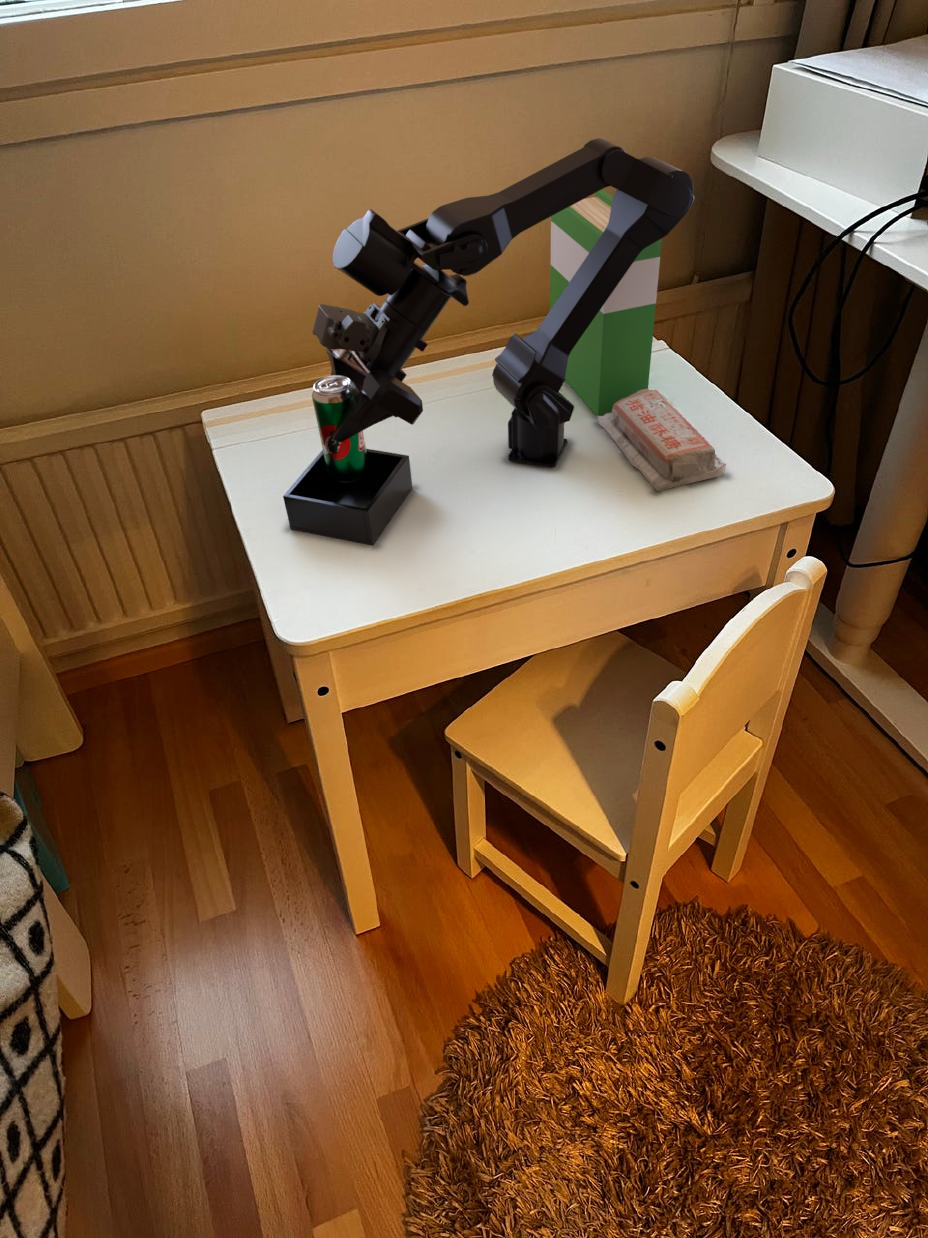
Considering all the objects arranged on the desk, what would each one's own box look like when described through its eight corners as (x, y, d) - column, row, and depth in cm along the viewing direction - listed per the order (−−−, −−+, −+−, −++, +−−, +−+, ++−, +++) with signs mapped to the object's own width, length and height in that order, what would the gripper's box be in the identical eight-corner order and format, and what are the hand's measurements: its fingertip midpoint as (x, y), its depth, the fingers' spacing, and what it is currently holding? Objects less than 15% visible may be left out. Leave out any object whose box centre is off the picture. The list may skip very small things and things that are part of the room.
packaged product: (733, 443, 112) (659, 461, 110) (727, 476, 115) (655, 494, 113) (665, 377, 124) (597, 391, 123) (661, 408, 128) (596, 423, 126)
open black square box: (412, 488, 117) (409, 455, 113) (373, 546, 109) (368, 512, 105) (334, 474, 120) (328, 442, 117) (290, 529, 112) (282, 496, 108)
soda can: (375, 478, 110) (360, 388, 101) (334, 489, 109) (316, 400, 100) (362, 457, 113) (347, 369, 105) (323, 467, 112) (305, 379, 104)
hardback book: (549, 362, 139) (551, 197, 123) (593, 352, 141) (601, 188, 124) (597, 417, 127) (607, 242, 110) (646, 406, 128) (662, 232, 112)
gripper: (322, 248, 102) (249, 363, 107) (381, 311, 90) (295, 439, 94) (396, 298, 110) (325, 405, 114) (460, 363, 97) (377, 480, 102)
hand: (329, 429), depth 106 cm, fingers closed on soda can, 5 cm apart
